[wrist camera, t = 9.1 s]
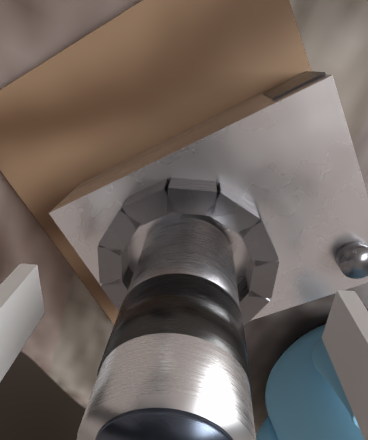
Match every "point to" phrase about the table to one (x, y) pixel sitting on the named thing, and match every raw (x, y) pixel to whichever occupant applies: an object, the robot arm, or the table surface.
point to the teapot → (307, 396)
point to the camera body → (240, 199)
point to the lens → (176, 346)
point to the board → (137, 95)
